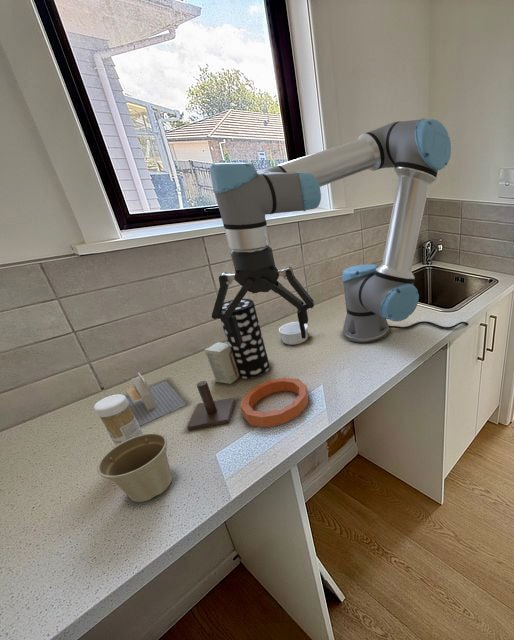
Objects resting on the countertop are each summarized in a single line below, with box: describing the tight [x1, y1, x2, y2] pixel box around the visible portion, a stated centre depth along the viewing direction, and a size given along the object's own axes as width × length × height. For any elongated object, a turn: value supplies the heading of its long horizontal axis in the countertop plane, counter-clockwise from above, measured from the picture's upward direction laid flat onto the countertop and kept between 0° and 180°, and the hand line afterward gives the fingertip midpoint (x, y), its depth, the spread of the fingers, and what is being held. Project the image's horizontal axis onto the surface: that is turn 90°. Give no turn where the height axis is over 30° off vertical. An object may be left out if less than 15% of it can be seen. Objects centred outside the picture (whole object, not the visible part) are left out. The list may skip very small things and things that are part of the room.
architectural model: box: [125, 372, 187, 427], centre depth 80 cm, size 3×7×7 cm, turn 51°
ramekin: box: [278, 321, 309, 346], centre depth 109 cm, size 9×9×4 cm
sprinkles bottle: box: [93, 393, 144, 447], centre depth 65 cm, size 5×5×13 cm
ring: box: [240, 376, 309, 428], centre depth 80 cm, size 14×14×3 cm
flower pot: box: [96, 432, 173, 503], centre depth 59 cm, size 9×9×9 cm
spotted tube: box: [220, 298, 271, 380], centre depth 90 cm, size 8×8×20 cm
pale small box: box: [204, 341, 240, 385], centre depth 88 cm, size 5×4×10 cm
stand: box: [186, 380, 236, 431], centre depth 76 cm, size 8×8×9 cm
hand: (272, 340), depth 76 cm, fingers open, 13 cm apart
